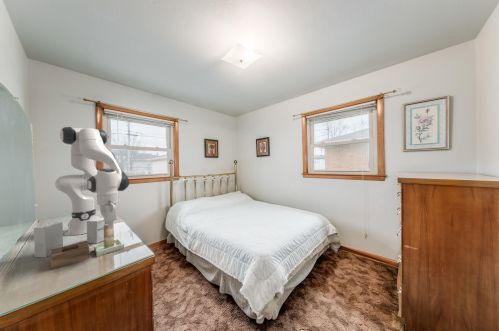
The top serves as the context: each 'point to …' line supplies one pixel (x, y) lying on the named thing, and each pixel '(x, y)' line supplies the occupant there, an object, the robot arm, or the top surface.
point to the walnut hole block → (69, 254)
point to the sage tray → (101, 251)
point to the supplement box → (95, 230)
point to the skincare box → (48, 238)
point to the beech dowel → (108, 237)
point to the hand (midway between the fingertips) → (108, 226)
